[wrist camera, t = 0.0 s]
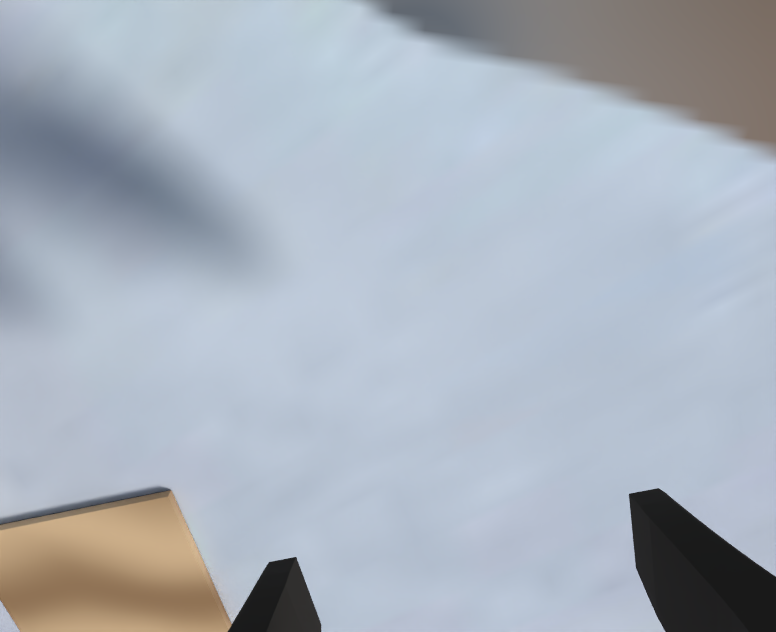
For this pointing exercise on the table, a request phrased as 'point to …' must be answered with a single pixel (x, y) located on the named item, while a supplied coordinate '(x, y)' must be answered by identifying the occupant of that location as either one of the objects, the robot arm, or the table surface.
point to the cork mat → (108, 571)
